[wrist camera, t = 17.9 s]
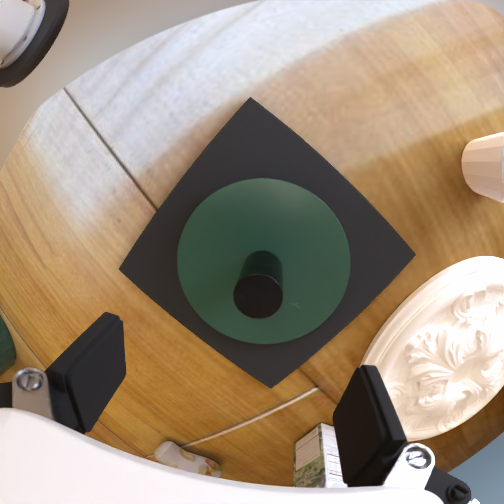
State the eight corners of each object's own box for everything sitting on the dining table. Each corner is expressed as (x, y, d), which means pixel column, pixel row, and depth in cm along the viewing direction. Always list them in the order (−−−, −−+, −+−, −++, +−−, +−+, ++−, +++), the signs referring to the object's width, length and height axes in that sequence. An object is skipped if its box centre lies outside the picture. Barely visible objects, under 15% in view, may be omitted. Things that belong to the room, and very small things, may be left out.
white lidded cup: (479, 121, 20) (523, 114, 13) (508, 174, 20) (551, 180, 14) (445, 158, 21) (490, 157, 14) (477, 214, 22) (521, 228, 15)
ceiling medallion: (305, 411, 30) (307, 430, 27) (459, 204, 22) (477, 209, 19) (436, 447, 31) (442, 460, 28) (547, 313, 24) (559, 322, 21)
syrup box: (324, 453, 32) (331, 538, 18) (291, 442, 32) (290, 535, 18) (352, 432, 30) (370, 523, 17) (319, 420, 30) (328, 521, 16)
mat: (121, 267, 27) (118, 269, 26) (250, 98, 22) (250, 96, 21) (271, 385, 29) (270, 388, 28) (413, 253, 24) (416, 254, 23)
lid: (152, 269, 26) (116, 298, 19) (254, 141, 22) (244, 129, 16) (269, 362, 27) (266, 410, 21) (379, 258, 24) (410, 287, 17)
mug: (165, 425, 33) (186, 485, 25) (215, 436, 38) (241, 486, 30) (140, 449, 33) (156, 504, 25) (189, 458, 38) (209, 505, 30)
